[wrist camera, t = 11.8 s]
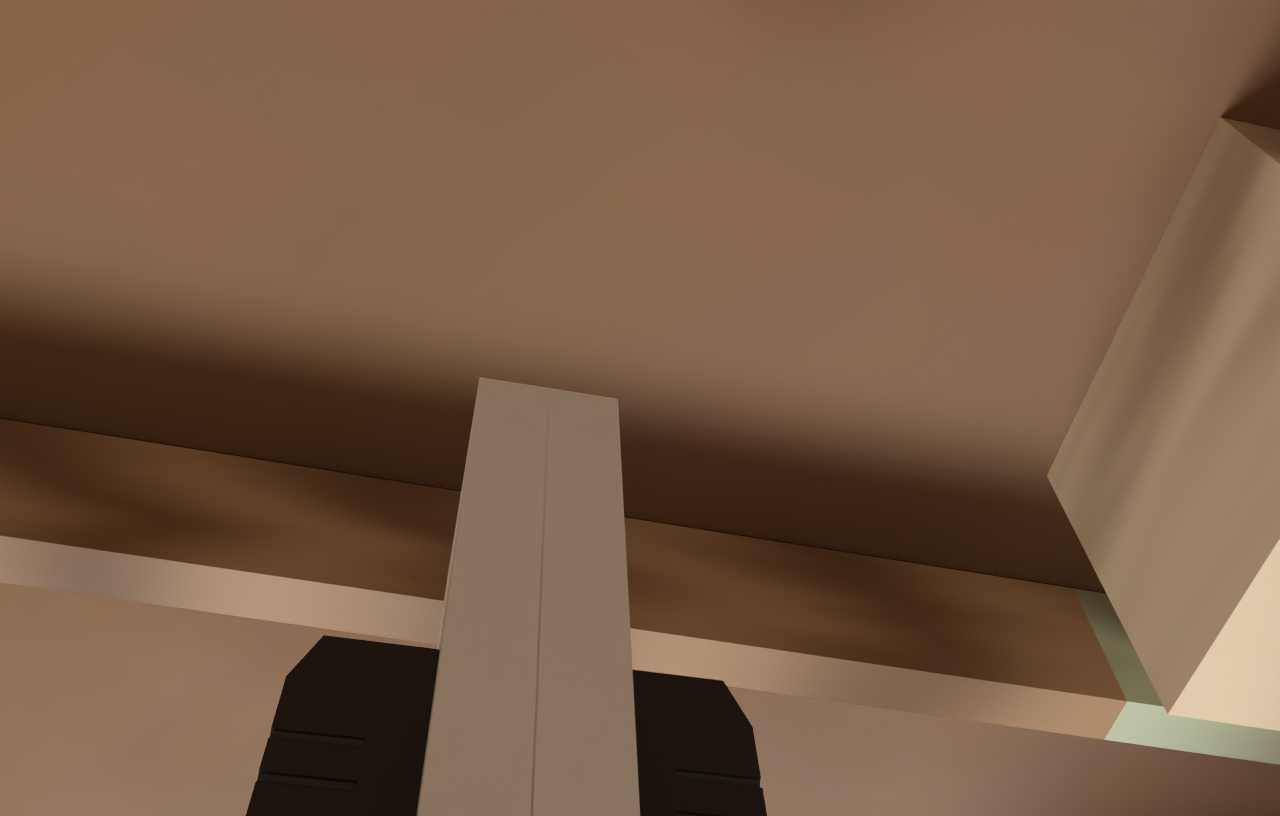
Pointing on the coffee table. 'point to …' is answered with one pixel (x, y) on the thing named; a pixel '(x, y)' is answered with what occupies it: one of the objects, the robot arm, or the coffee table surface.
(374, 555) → the channel
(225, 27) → the coffee table surface
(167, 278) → the coffee table surface
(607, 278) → the coffee table surface
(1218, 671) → the block
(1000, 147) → the coffee table surface
